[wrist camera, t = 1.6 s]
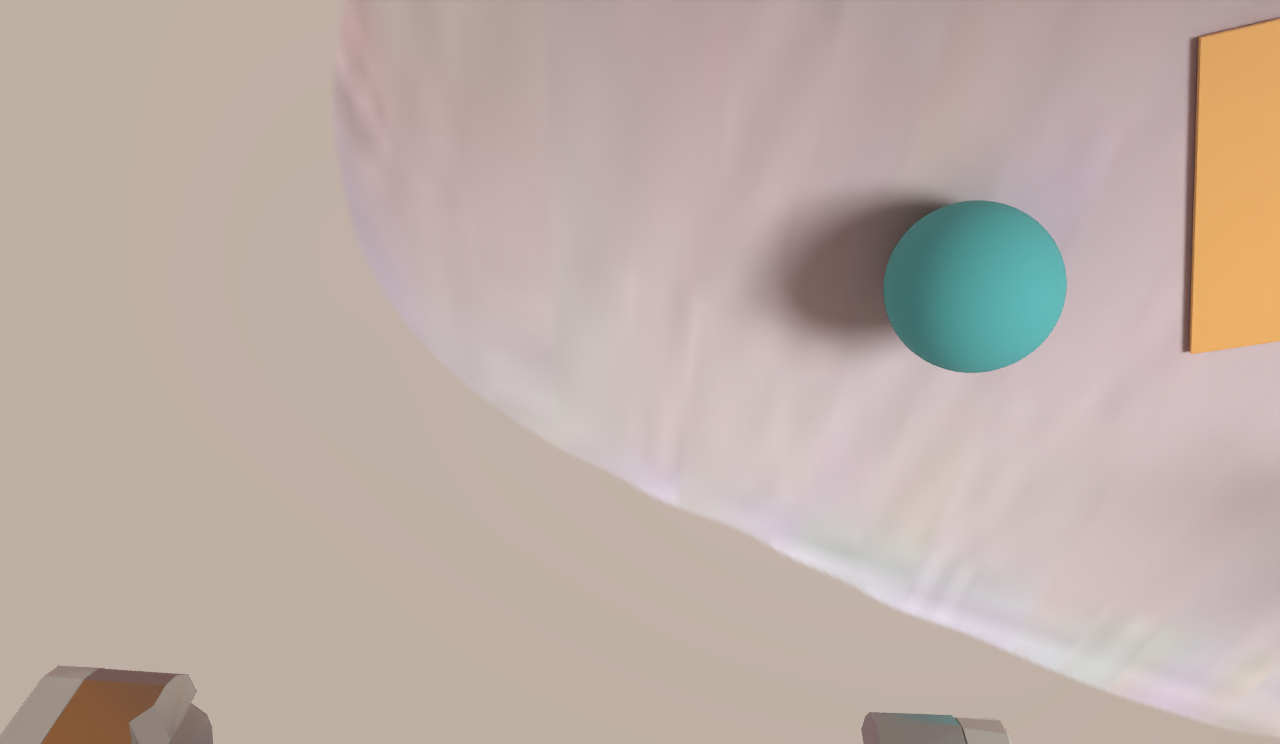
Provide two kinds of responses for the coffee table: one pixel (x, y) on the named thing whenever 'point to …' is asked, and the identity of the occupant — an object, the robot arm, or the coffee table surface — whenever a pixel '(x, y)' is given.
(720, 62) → the coffee table surface
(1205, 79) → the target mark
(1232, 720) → the coffee table surface
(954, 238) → the ball
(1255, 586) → the coffee table surface
